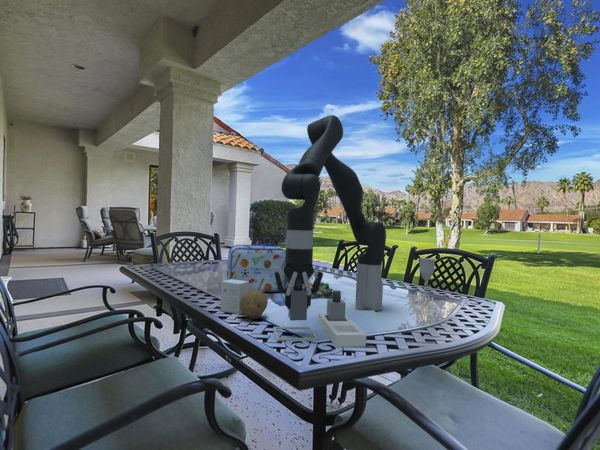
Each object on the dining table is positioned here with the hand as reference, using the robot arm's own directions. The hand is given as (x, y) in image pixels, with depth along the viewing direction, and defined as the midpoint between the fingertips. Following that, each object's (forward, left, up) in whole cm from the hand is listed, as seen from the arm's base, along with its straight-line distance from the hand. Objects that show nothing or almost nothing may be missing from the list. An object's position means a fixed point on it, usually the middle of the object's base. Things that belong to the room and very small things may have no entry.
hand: (297, 307), depth 96 cm
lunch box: (+8, -61, -9) cm, 62 cm away
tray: (0, 0, -8) cm, 8 cm away
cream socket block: (-13, 0, -8) cm, 15 cm away
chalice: (-66, -47, -9) cm, 81 cm away
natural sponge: (+11, -17, -9) cm, 22 cm away
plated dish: (-17, -61, -9) cm, 64 cm away
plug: (0, 0, -3) cm, 3 cm away
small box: (+17, -28, -9) cm, 34 cm away
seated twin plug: (-13, -5, -7) cm, 15 cm away
